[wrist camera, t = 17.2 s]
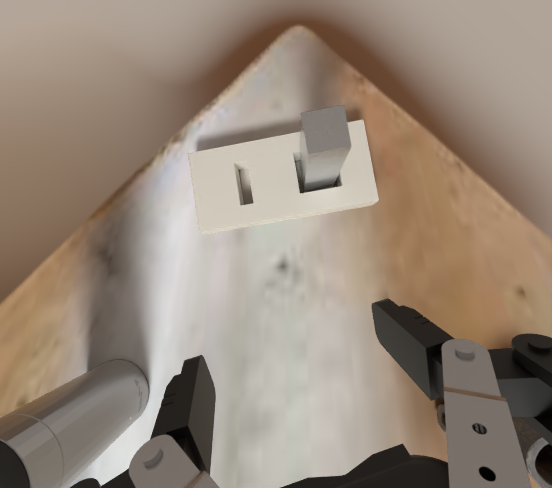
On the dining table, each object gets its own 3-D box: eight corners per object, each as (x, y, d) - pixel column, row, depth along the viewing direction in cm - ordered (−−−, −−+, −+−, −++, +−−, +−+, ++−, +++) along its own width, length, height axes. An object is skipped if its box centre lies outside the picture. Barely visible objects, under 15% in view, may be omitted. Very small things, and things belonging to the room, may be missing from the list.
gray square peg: (304, 192, 39) (307, 154, 25) (299, 165, 39) (300, 113, 25) (332, 187, 39) (351, 146, 25) (327, 160, 39) (344, 104, 25)
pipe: (434, 386, 36) (473, 421, 28) (538, 399, 35) (610, 440, 27) (432, 433, 36) (470, 483, 28) (537, 448, 34) (608, 505, 27)
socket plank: (206, 233, 40) (199, 231, 37) (196, 161, 40) (188, 153, 37) (372, 205, 38) (378, 200, 35) (358, 130, 39) (363, 119, 36)
